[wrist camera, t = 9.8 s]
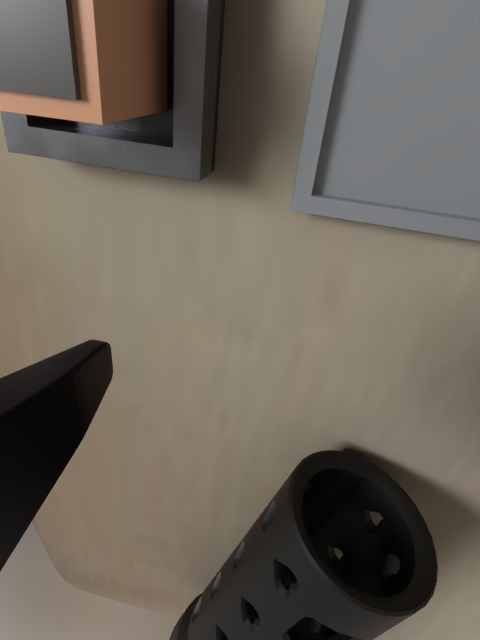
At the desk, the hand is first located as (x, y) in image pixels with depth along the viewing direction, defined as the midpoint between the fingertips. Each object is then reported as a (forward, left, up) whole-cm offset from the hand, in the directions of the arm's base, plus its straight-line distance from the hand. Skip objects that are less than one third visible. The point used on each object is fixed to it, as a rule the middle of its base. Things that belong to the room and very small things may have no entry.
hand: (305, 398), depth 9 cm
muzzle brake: (-2, +28, -13) cm, 31 cm away
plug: (+10, -6, -12) cm, 17 cm away
